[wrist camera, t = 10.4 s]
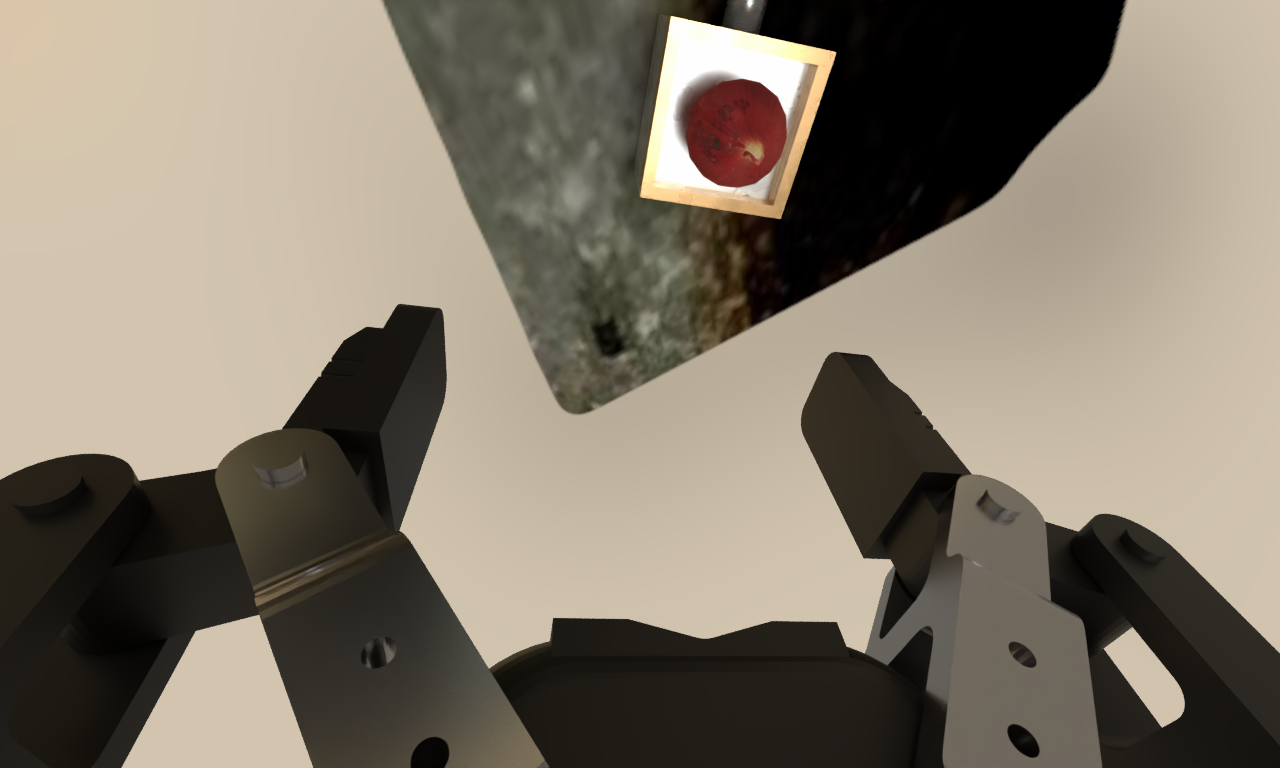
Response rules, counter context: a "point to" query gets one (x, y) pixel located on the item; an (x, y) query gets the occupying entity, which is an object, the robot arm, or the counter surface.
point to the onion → (736, 133)
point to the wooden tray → (697, 64)
